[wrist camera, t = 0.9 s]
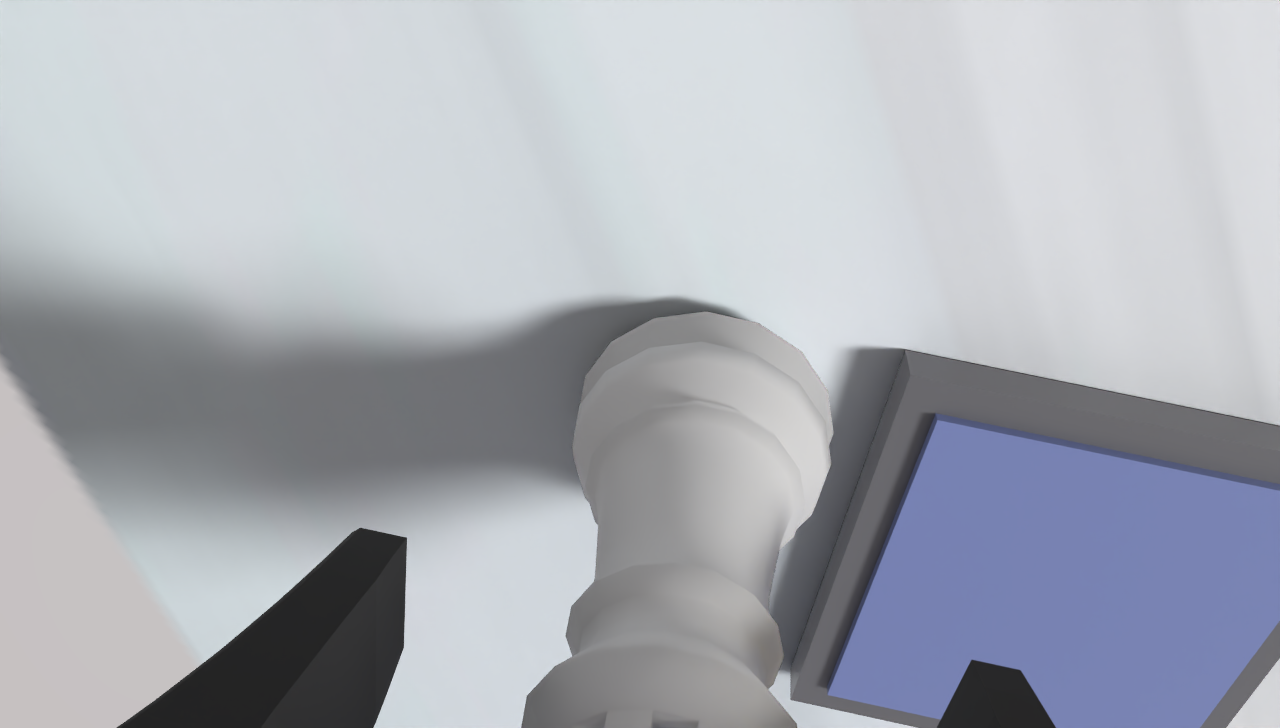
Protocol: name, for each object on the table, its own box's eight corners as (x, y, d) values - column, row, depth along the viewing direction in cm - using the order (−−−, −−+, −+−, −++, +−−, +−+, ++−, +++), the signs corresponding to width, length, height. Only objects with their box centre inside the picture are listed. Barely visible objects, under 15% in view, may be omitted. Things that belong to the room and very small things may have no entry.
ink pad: (1168, 751, 20) (1185, 794, 19) (790, 668, 20) (790, 707, 19) (1389, 449, 15) (1424, 487, 14) (905, 350, 16) (911, 381, 15)
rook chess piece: (533, 398, 17) (366, 790, 10) (709, 246, 15) (645, 609, 8) (702, 543, 18) (651, 978, 12) (886, 420, 16) (954, 860, 10)
